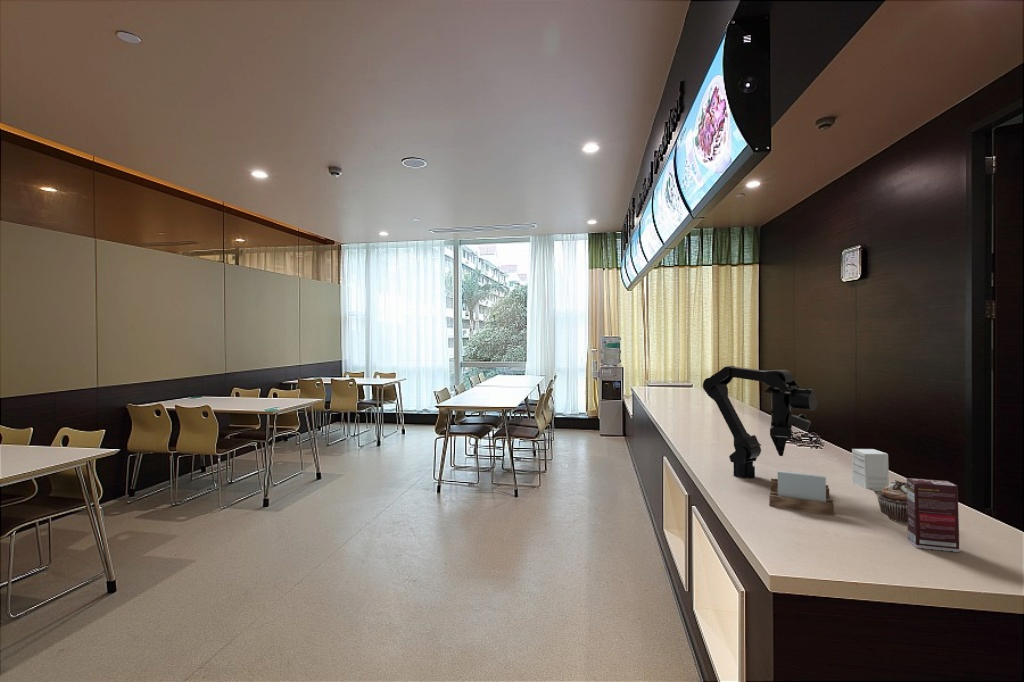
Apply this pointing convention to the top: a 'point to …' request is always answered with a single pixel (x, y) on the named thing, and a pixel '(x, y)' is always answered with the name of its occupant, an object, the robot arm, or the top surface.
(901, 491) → the cupcake
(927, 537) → the supplement box
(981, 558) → the top surface
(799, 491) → the panel
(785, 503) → the rack
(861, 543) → the top surface
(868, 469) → the supplement box
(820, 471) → the top surface
